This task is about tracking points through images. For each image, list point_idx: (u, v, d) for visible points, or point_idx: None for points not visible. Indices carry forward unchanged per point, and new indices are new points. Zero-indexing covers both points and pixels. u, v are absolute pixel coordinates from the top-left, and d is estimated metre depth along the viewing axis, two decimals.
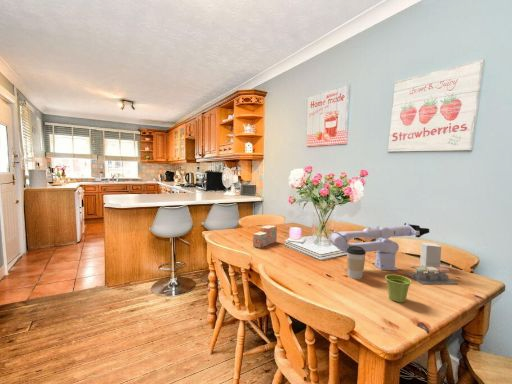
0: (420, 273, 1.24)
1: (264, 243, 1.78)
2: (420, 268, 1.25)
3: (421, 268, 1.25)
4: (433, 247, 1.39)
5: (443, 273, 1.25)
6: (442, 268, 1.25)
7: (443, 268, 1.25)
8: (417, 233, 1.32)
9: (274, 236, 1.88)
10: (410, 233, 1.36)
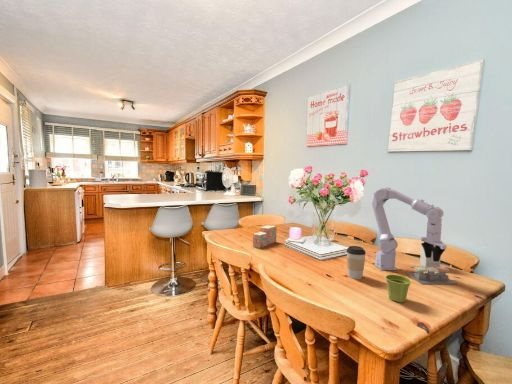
0: (420, 273, 1.24)
1: (264, 243, 1.77)
2: (420, 268, 1.25)
3: (421, 268, 1.25)
4: None
5: (443, 273, 1.25)
6: (442, 268, 1.25)
7: (443, 268, 1.25)
8: (444, 247, 1.17)
9: (274, 237, 1.88)
10: (435, 242, 1.21)
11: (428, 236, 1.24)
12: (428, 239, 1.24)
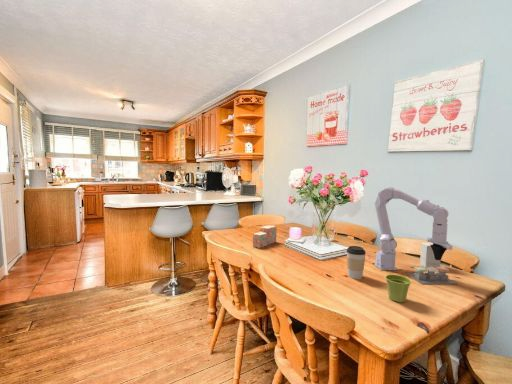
0: (420, 273, 1.24)
1: (264, 243, 1.77)
2: (420, 268, 1.25)
3: (421, 268, 1.25)
4: None
5: (443, 273, 1.25)
6: (442, 268, 1.25)
7: (443, 268, 1.25)
8: (450, 247, 1.17)
9: (274, 237, 1.88)
10: (440, 242, 1.21)
11: (434, 236, 1.24)
12: (434, 239, 1.24)
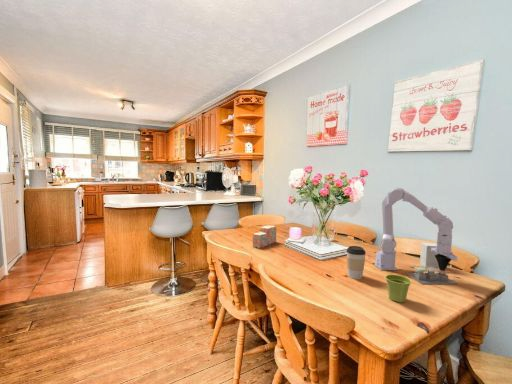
0: (420, 273, 1.24)
1: (264, 243, 1.77)
2: (420, 268, 1.25)
3: (421, 268, 1.25)
4: (433, 247, 1.39)
5: None
6: None
7: None
8: (455, 258, 1.18)
9: (274, 237, 1.87)
10: (445, 253, 1.22)
11: (438, 247, 1.24)
12: (438, 250, 1.24)
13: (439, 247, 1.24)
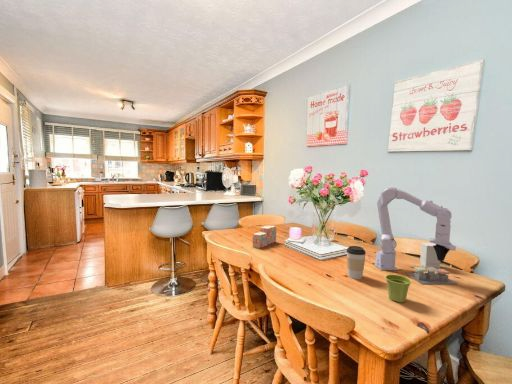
0: (420, 273, 1.24)
1: (264, 243, 1.77)
2: (420, 268, 1.25)
3: (421, 268, 1.25)
4: (433, 247, 1.39)
5: None
6: (442, 270, 1.25)
7: (443, 270, 1.25)
8: (453, 248, 1.17)
9: (273, 237, 1.87)
10: (444, 243, 1.22)
11: (437, 237, 1.24)
12: (437, 240, 1.24)
13: (437, 237, 1.23)
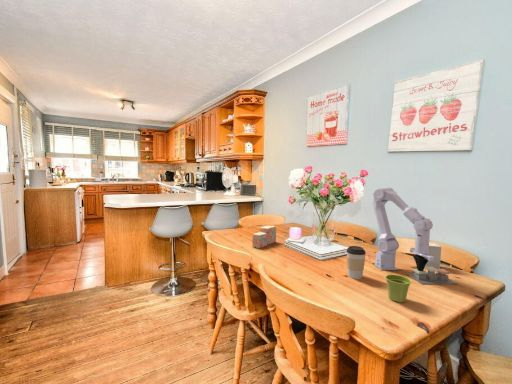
0: None
1: (263, 243, 1.77)
2: None
3: None
4: (433, 247, 1.39)
5: None
6: (442, 270, 1.25)
7: (443, 270, 1.25)
8: (431, 259, 1.17)
9: (273, 237, 1.87)
10: (423, 254, 1.22)
11: (416, 247, 1.24)
12: (416, 250, 1.24)
13: (417, 248, 1.24)
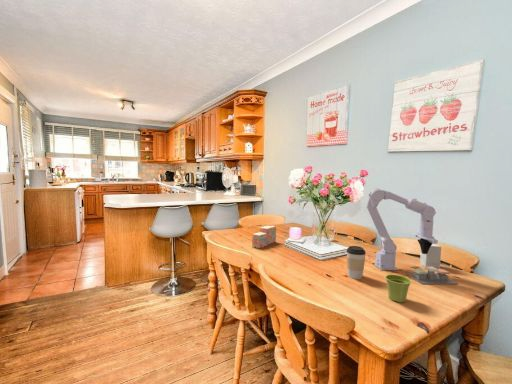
0: None
1: (263, 243, 1.77)
2: (420, 270, 1.25)
3: (421, 270, 1.25)
4: (433, 247, 1.39)
5: None
6: (442, 270, 1.25)
7: (443, 270, 1.25)
8: (435, 241, 1.26)
9: (273, 237, 1.87)
10: (427, 237, 1.30)
11: (421, 232, 1.33)
12: (421, 234, 1.33)
13: (421, 232, 1.32)
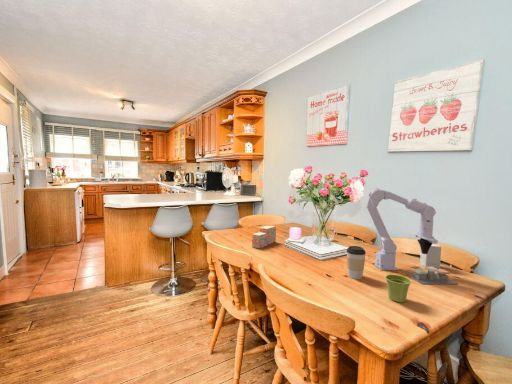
0: None
1: (263, 243, 1.76)
2: (420, 270, 1.25)
3: (421, 270, 1.25)
4: (433, 247, 1.39)
5: None
6: (442, 270, 1.25)
7: (443, 270, 1.25)
8: (435, 241, 1.26)
9: (273, 237, 1.87)
10: (427, 237, 1.30)
11: (421, 232, 1.33)
12: (421, 234, 1.33)
13: (421, 232, 1.32)
